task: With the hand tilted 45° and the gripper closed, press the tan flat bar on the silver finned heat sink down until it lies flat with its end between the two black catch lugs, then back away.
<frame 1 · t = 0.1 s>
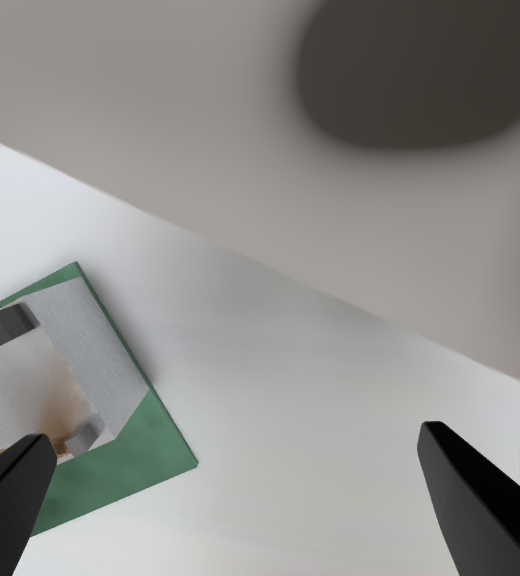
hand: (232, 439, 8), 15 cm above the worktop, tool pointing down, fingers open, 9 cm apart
heat sink: (77, 353, 25), on the worktop
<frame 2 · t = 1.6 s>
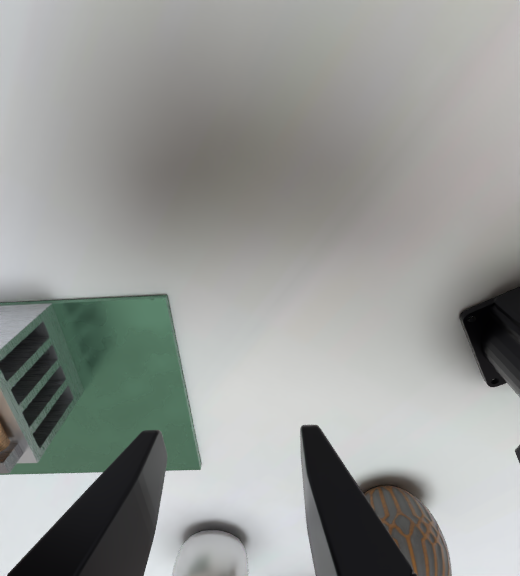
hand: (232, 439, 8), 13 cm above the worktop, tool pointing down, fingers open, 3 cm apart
vase: (382, 497, 30), on the worktop
heat sink: (6, 349, 24), on the worktop
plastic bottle: (214, 537, 33), on the worktop
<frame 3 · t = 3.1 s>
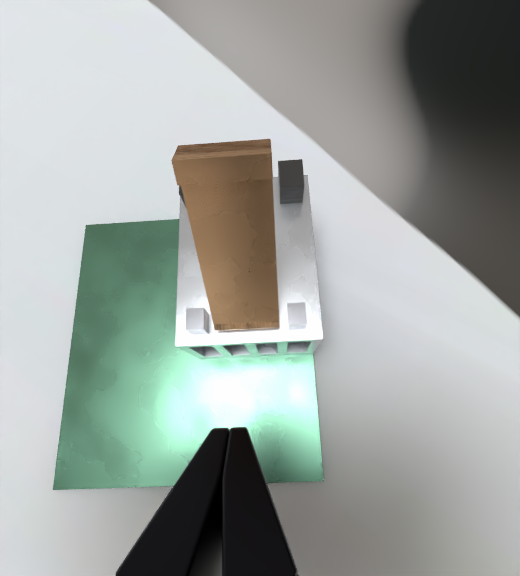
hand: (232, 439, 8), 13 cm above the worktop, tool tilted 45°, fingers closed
heat sink: (254, 290, 24), on the worktop
tan flat bar: (237, 257, 14), point 10 cm above the worktop, hinge at 60.0°
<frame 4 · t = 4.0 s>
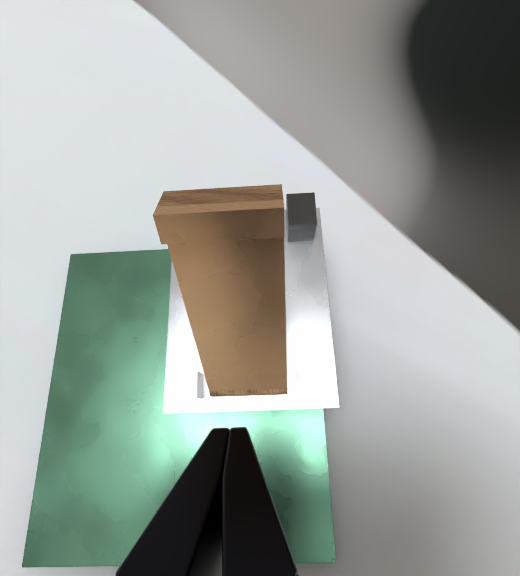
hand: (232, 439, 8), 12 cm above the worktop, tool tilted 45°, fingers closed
heat sink: (256, 330, 21), on the worktop
tan flat bar: (238, 320, 11), point 10 cm above the worktop, hinge at 60.0°
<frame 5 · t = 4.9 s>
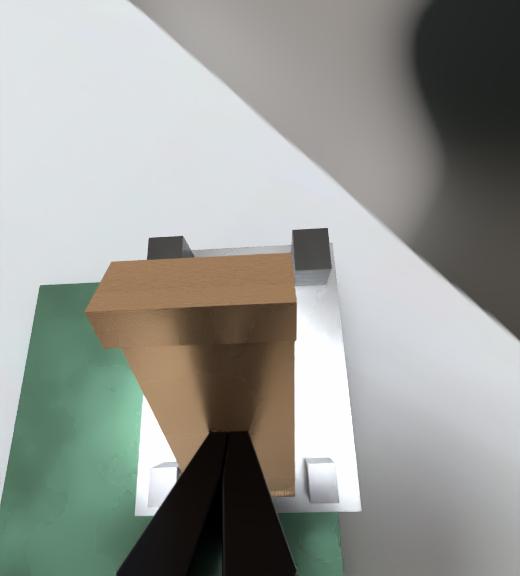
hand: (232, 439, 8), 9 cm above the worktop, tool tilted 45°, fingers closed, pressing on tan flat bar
heat sink: (255, 378, 18), on the worktop
tan flat bar: (228, 421, 8), point 10 cm above the worktop, hinge at 59.1°, touching gripper
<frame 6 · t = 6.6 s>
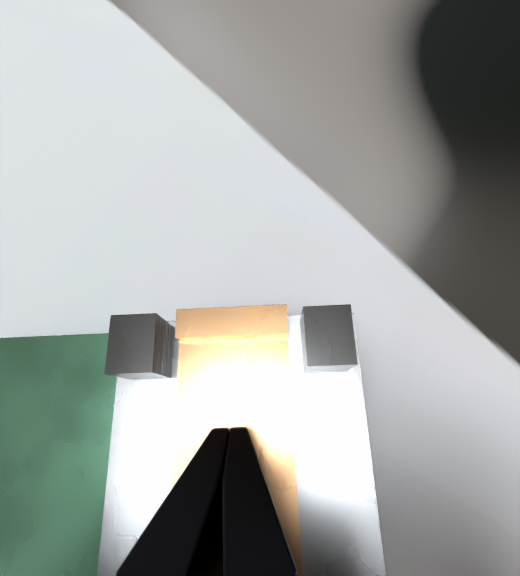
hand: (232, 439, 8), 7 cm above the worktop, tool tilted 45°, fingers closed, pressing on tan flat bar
heat sink: (254, 457, 15), on the worktop
tan flat bar: (234, 478, 9), point 7 cm above the worktop, hinge at -1.0°, touching gripper, heat sink
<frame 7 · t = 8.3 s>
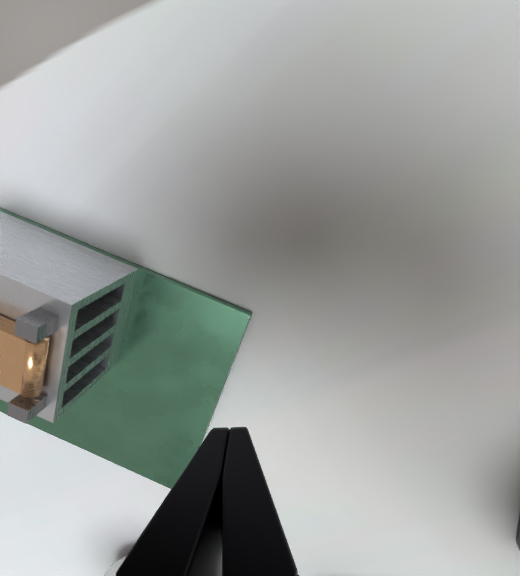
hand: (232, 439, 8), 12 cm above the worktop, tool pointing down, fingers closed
heat sink: (65, 289, 22), on the worktop
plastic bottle: (151, 566, 30), on the worktop
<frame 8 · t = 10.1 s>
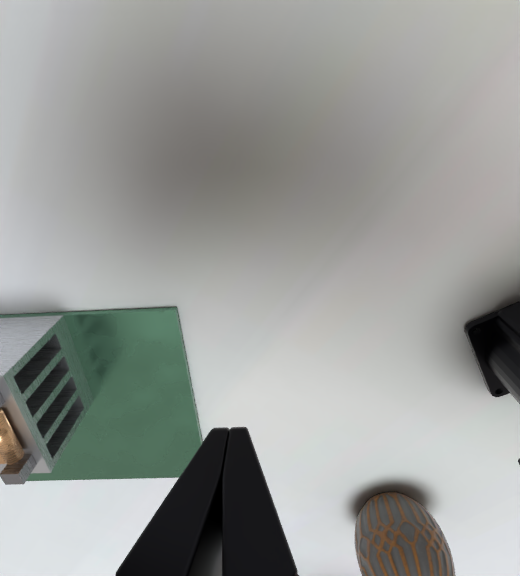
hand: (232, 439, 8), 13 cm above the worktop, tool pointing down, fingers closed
vase: (387, 503, 31), on the worktop
heat sink: (17, 359, 24), on the worktop
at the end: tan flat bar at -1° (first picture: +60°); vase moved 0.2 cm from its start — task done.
